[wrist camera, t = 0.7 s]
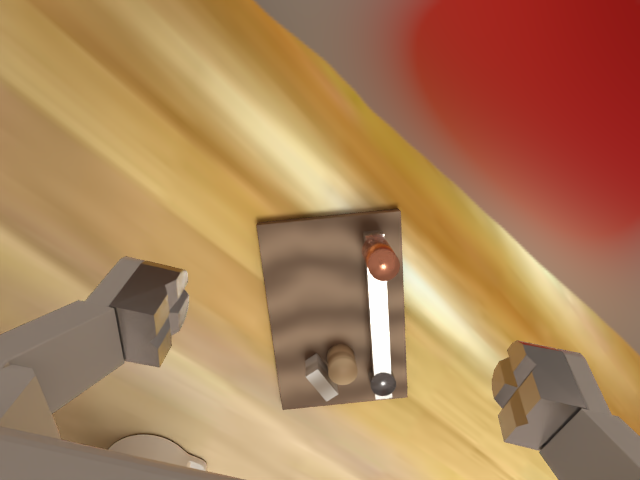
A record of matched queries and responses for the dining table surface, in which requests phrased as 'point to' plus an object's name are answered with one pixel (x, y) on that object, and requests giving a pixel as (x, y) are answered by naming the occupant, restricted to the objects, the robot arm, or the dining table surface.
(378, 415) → the dining table surface
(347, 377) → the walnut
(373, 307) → the lever
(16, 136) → the dining table surface
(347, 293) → the nutcracker base
